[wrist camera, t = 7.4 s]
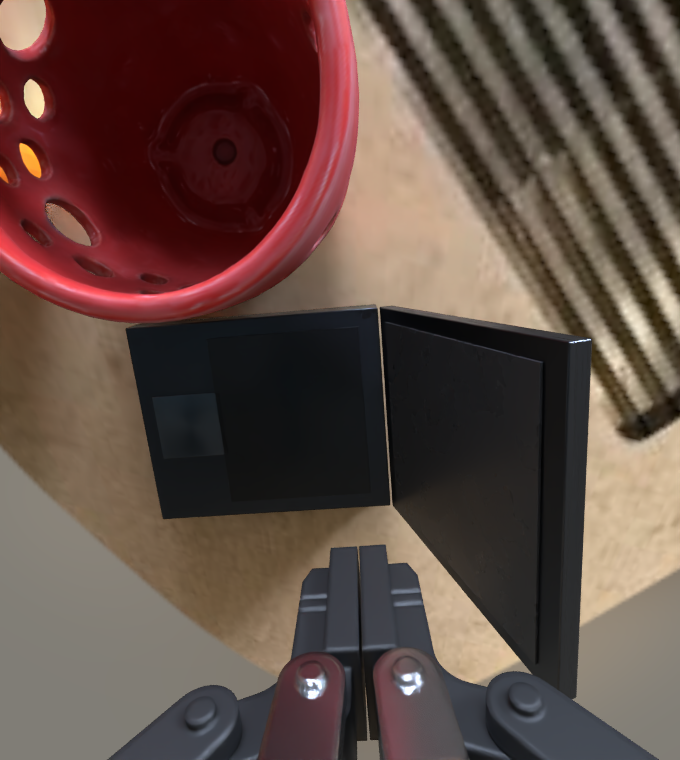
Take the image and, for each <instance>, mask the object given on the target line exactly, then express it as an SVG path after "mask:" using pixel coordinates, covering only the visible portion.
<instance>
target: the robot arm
mask: <svg viewBox="0 0 680 760" xmlns="http://www.w3.org/2000/svg"><path fill="white" fill-rule="evenodd" d="M359 554H360V572H359V560H358V549H357V546H356V547H340V548H331V551H330V564H329V568H315V569H312V570H311V571H310V572H309V574H308V575H307V577H306V578H305V579H304V581H303V582H302V589H301V596H300V602H299V609H298V610H299V612H298V615H297V622H296V629H295V635H294V642H293V649H292V655H291V660H290V661H289V662H288V663H287V664H286V665H285V666H284V668H283V669H282V671H281V672H280V675H279V677H278V681H277V683H275V684H274V685H273V686H271V687H270V688H268V689H266V690H265V691H262V692H260V693H258V694H255V695H252V696H249V697H246V698H243V699H241V700H238V701H237V698H236V696H235V695H234V693H232V691H231V690H229V689H227V688H226V687H222V686H218V685H210V686H204V687H200V688H198V689H195V690H193V691H191V692H189V693H187V694H186V695H185V696H183V697H182V698H181V699H179V700H178V701H177V702H176V703H175V704H173V705H172V706H171V707H170V708H169V709H168V710H166V711H165V712H164V713H163V714H161V715H160V716H159V717H158V718H157V719H156V720H154V721H153V722H152V723H151V724H150V725H148V726H147V727H146V728H145V729H144V730H143V731H141V732H140V733H139V734H138V735H136V736H135V737H134V738H133V739H132V740H130V741H129V742H128V743H127V744H126V745H124V746H123V747H122V748H121V749H120V750H119V751H117V752H116V753H115V754H114V755H113V756H111V757H110V758H109V759H108V760H357V741H367V721H366V697H367V708H368V718H369V719H368V720H369V731H370V740H379V753H380V760H659V759H657V758H656V757H654V756H653V755H651V754H650V753H649V752H647V751H646V750H644V749H643V748H641V747H640V746H638V745H637V744H635V743H634V742H633V741H631V740H630V739H628V738H627V737H625V736H624V735H623V734H621V733H620V732H618V731H617V730H615V729H614V728H612V727H611V726H609V725H608V724H607V723H605V722H604V721H602V720H601V719H599V718H598V717H596V716H595V715H593V714H592V713H591V712H589V711H588V710H586V709H585V708H583V707H582V706H580V705H579V704H578V703H576V702H575V701H573V700H572V699H570V698H569V697H567V696H566V695H565V694H563V693H562V692H560V691H559V690H557V689H556V688H554V687H553V686H551V685H550V684H549V683H547V682H546V681H544V680H542V679H541V678H539V677H537V676H534V675H531V674H528V673H524V672H517V671H515V672H514V671H513V672H505V673H502V674H500V675H498V676H496V677H495V678H493V679H492V680H491V682H490V683H489V685H488V687H485V686H481V685H477V684H473V683H469V682H465V681H462V680H460V679H458V678H456V677H454V676H453V675H451V674H450V673H448V672H447V671H446V670H445V669H444V668H443V667H442V666H441V665H440V664H439V662H438V661H437V659H436V657H435V654H434V651H433V646H432V641H431V636H430V632H429V627H428V622H427V618H426V613H425V608H424V605H423V599H422V594H421V589H420V585H419V580H418V575H417V574H416V573H415V572H414V571H413V569H412V568H411V567H410V566H409V565H408V564H407V563H397V564H388V560H387V552H386V545H370V546H359ZM365 686H366V691H365Z"/></svg>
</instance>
